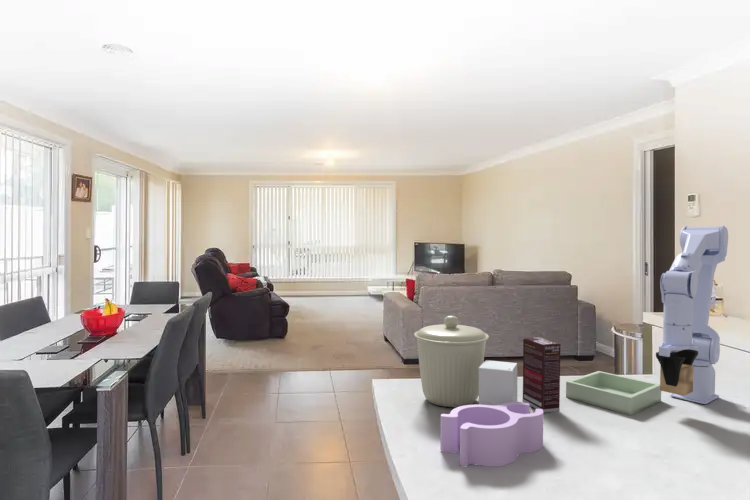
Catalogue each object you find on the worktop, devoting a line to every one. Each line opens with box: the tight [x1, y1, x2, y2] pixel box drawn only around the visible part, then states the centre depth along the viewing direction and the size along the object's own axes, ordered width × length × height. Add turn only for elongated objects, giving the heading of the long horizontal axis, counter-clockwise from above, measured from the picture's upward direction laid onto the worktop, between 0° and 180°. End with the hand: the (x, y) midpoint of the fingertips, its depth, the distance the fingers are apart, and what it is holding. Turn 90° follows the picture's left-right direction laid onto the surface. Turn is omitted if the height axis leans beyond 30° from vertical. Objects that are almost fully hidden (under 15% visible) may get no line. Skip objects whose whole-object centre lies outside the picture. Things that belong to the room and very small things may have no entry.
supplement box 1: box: [478, 359, 518, 405], centre depth 110 cm, size 7×7×13 cm
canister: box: [413, 315, 490, 408], centre depth 123 cm, size 18×18×21 cm
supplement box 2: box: [522, 336, 561, 414], centre depth 120 cm, size 9×5×16 cm, turn 17°
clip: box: [439, 401, 544, 467], centre depth 96 cm, size 20×12×7 cm, turn 115°
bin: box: [565, 370, 662, 416], centre depth 125 cm, size 16×16×4 cm
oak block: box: [659, 364, 694, 396], centre depth 115 cm, size 5×5×6 cm
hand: (676, 382), depth 115 cm, fingers closed on oak block, 5 cm apart
